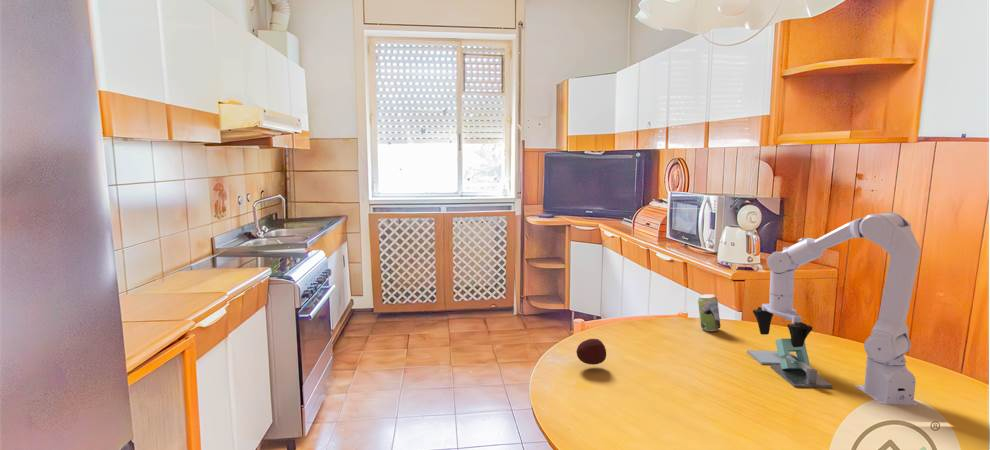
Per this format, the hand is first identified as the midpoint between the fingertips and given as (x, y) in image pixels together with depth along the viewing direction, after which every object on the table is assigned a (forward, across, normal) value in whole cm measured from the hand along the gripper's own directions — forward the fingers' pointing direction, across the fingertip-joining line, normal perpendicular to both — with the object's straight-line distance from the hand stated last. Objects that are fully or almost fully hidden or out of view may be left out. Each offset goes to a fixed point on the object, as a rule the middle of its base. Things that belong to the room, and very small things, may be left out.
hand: (779, 341), depth 136 cm
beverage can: (+5, +27, +7) cm, 28 cm away
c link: (+4, -9, +1) cm, 10 cm away
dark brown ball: (+6, 0, +54) cm, 54 cm away
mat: (+6, +2, 0) cm, 6 cm away
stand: (+6, -11, +1) cm, 12 cm away
